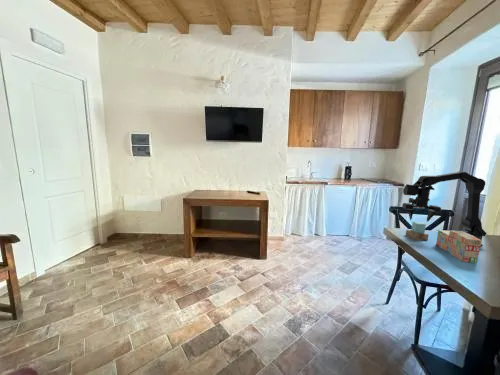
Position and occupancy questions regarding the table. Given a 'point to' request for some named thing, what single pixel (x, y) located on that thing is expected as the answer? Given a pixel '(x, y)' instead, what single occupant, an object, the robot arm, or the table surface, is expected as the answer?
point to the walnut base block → (417, 235)
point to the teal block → (418, 227)
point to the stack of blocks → (459, 245)
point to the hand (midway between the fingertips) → (418, 220)
